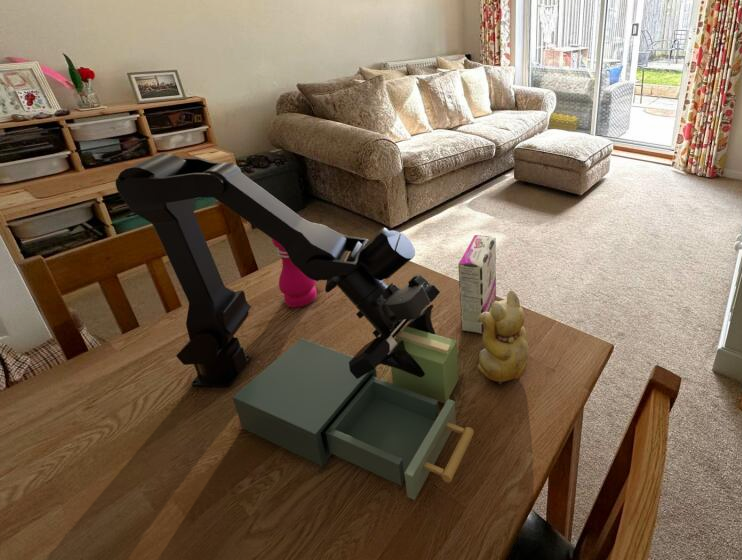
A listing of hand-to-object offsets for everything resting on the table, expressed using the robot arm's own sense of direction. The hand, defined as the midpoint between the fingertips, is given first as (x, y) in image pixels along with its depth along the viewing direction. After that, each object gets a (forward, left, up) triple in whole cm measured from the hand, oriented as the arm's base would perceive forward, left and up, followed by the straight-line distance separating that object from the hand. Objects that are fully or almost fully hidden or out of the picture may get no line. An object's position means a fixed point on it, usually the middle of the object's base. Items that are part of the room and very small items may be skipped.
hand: (431, 363), depth 67 cm
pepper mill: (-33, +22, -5) cm, 40 cm away
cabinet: (-18, -5, -5) cm, 20 cm away
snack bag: (-1, +1, -5) cm, 5 cm away
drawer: (-2, -11, -4) cm, 12 cm away
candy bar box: (+6, +18, -5) cm, 20 cm away
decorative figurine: (+13, +4, -5) cm, 14 cm away
